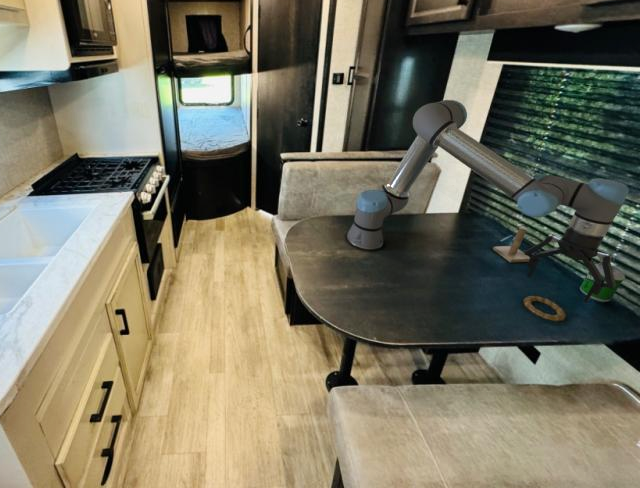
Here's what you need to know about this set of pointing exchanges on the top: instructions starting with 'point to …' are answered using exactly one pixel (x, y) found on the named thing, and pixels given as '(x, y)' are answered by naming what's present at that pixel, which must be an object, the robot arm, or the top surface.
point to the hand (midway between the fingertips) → (556, 287)
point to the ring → (558, 317)
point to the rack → (514, 248)
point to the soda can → (605, 292)
